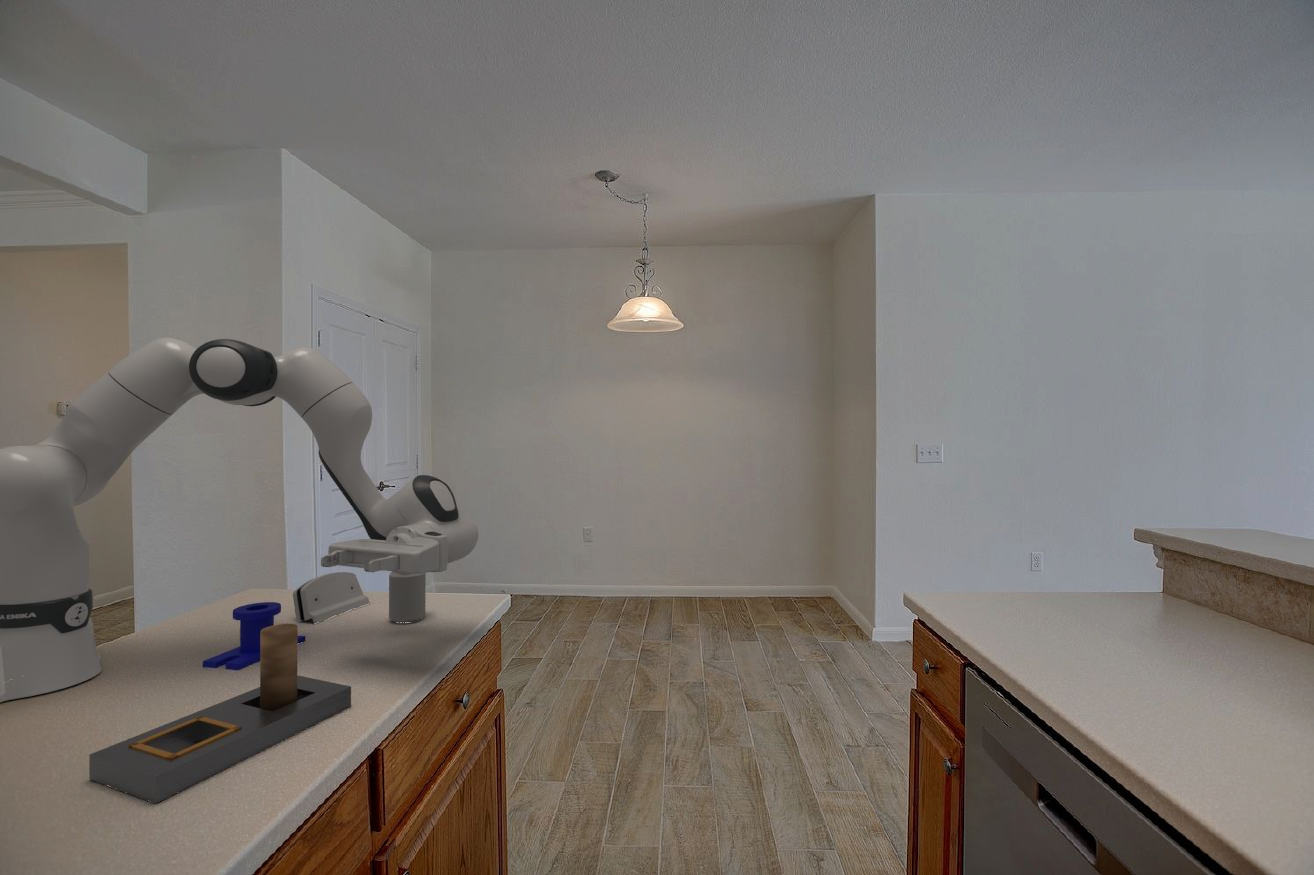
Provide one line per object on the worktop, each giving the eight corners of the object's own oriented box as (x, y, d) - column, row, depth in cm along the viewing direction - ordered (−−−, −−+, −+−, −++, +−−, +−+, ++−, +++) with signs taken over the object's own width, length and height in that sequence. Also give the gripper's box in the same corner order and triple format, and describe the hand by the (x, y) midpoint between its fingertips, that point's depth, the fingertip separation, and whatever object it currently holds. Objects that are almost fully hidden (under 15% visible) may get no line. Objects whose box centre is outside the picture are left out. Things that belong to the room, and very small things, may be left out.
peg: (252, 726, 83) (252, 633, 83) (273, 711, 87) (274, 623, 87) (284, 726, 83) (284, 633, 83) (304, 711, 87) (304, 623, 87)
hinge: (314, 624, 128) (302, 580, 129) (297, 630, 129) (285, 586, 130) (371, 603, 144) (359, 564, 145) (356, 608, 145) (344, 569, 146)
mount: (272, 639, 119) (273, 596, 119) (305, 642, 117) (305, 598, 117) (202, 668, 104) (202, 618, 104) (238, 671, 103) (239, 620, 103)
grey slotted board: (89, 779, 70) (89, 752, 70) (292, 693, 93) (292, 672, 93) (155, 803, 65) (155, 774, 65) (350, 706, 89) (351, 685, 89)
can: (405, 626, 126) (406, 570, 126) (381, 622, 130) (381, 567, 130) (432, 617, 133) (433, 564, 133) (408, 613, 136) (409, 561, 136)
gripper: (366, 528, 112) (299, 540, 99) (454, 535, 105) (393, 549, 92) (366, 561, 112) (299, 578, 99) (454, 571, 105) (393, 590, 92)
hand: (345, 564), depth 95 cm, fingers open, 8 cm apart
